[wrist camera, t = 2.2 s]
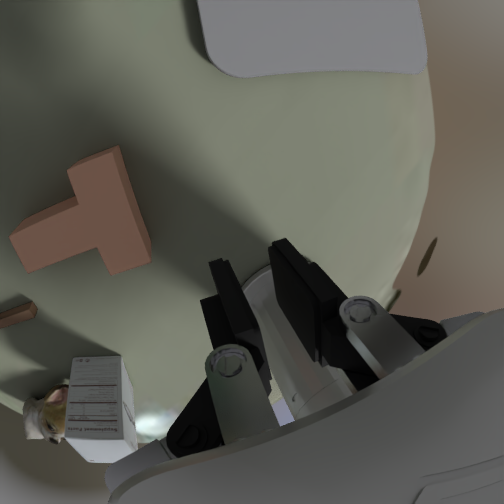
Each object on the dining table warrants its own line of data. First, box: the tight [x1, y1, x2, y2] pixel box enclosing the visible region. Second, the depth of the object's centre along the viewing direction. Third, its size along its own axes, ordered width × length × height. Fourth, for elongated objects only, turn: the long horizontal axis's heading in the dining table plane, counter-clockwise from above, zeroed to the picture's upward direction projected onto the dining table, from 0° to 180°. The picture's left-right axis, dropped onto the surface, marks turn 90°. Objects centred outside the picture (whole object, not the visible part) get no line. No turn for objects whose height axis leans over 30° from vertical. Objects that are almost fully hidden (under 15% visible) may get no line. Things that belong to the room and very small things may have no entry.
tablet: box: [196, 0, 427, 78], centre depth 19 cm, size 16×26×2 cm, turn 99°
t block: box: [9, 145, 151, 275], centre depth 22 cm, size 10×12×4 cm
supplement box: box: [64, 356, 138, 463], centre depth 28 cm, size 7×7×13 cm
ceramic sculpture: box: [23, 384, 69, 444], centre depth 31 cm, size 11×9×15 cm
